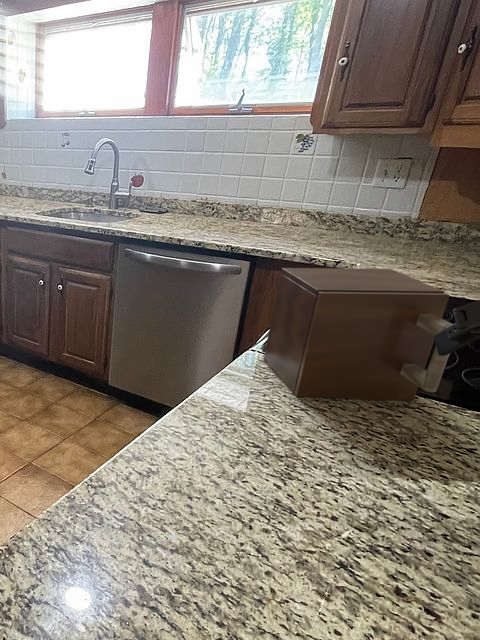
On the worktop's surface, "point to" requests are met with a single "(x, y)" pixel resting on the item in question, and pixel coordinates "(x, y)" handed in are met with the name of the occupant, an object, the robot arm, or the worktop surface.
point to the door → (373, 346)
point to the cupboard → (299, 306)
